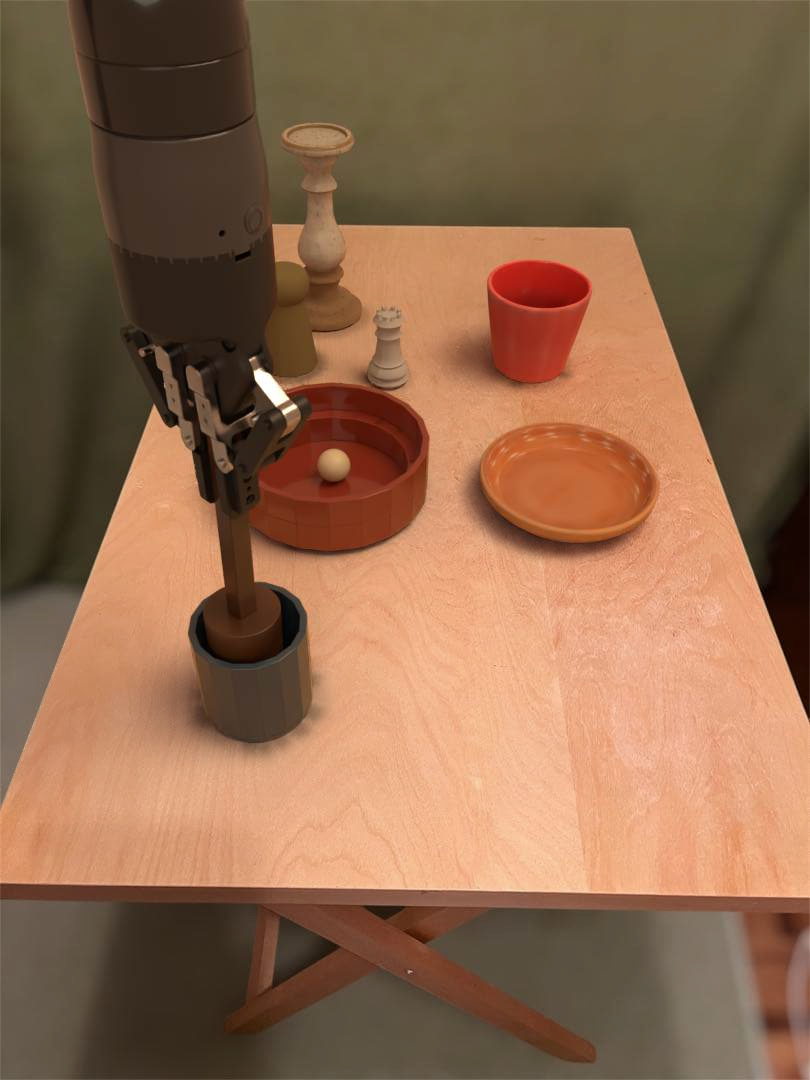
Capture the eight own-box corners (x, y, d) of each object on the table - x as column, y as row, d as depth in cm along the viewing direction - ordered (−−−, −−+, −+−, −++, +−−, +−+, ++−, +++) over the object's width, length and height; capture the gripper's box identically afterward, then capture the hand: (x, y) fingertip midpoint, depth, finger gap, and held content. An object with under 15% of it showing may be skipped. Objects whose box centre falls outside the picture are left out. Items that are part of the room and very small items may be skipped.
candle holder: (271, 316, 106) (256, 136, 93) (319, 288, 112) (311, 113, 98) (329, 340, 103) (322, 156, 89) (376, 310, 108) (377, 132, 94)
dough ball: (309, 478, 82) (341, 485, 81) (316, 445, 81) (347, 452, 81) (320, 477, 85) (350, 484, 84) (326, 445, 84) (357, 452, 84)
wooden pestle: (242, 700, 60) (216, 469, 48) (195, 659, 63) (158, 430, 50) (299, 659, 63) (288, 431, 50) (251, 622, 65) (229, 396, 53)
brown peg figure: (283, 341, 102) (276, 248, 95) (328, 357, 100) (324, 263, 93) (250, 366, 98) (239, 271, 91) (296, 383, 96) (289, 287, 89)
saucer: (518, 427, 91) (521, 402, 89) (674, 477, 86) (681, 452, 84) (447, 519, 81) (449, 493, 79) (620, 583, 76) (626, 557, 73)
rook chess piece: (394, 395, 95) (395, 327, 89) (359, 382, 97) (357, 314, 91) (416, 375, 98) (419, 308, 92) (381, 363, 99) (382, 296, 94)
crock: (252, 762, 62) (240, 689, 57) (181, 699, 66) (164, 625, 60) (334, 695, 66) (331, 622, 61) (264, 639, 70) (254, 565, 65)
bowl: (329, 585, 75) (327, 531, 70) (198, 491, 83) (188, 438, 79) (464, 489, 84) (469, 436, 80) (334, 413, 92) (332, 362, 88)
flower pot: (597, 379, 98) (613, 297, 91) (506, 400, 95) (516, 315, 88) (549, 332, 105) (561, 252, 98) (463, 349, 102) (469, 268, 95)
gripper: (34, 195, 43) (108, 480, 55) (218, 293, 36) (257, 594, 48) (165, 153, 47) (207, 428, 59) (352, 235, 40) (358, 525, 52)
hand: (230, 502), depth 53 cm, fingers closed on wooden pestle, 1 cm apart
